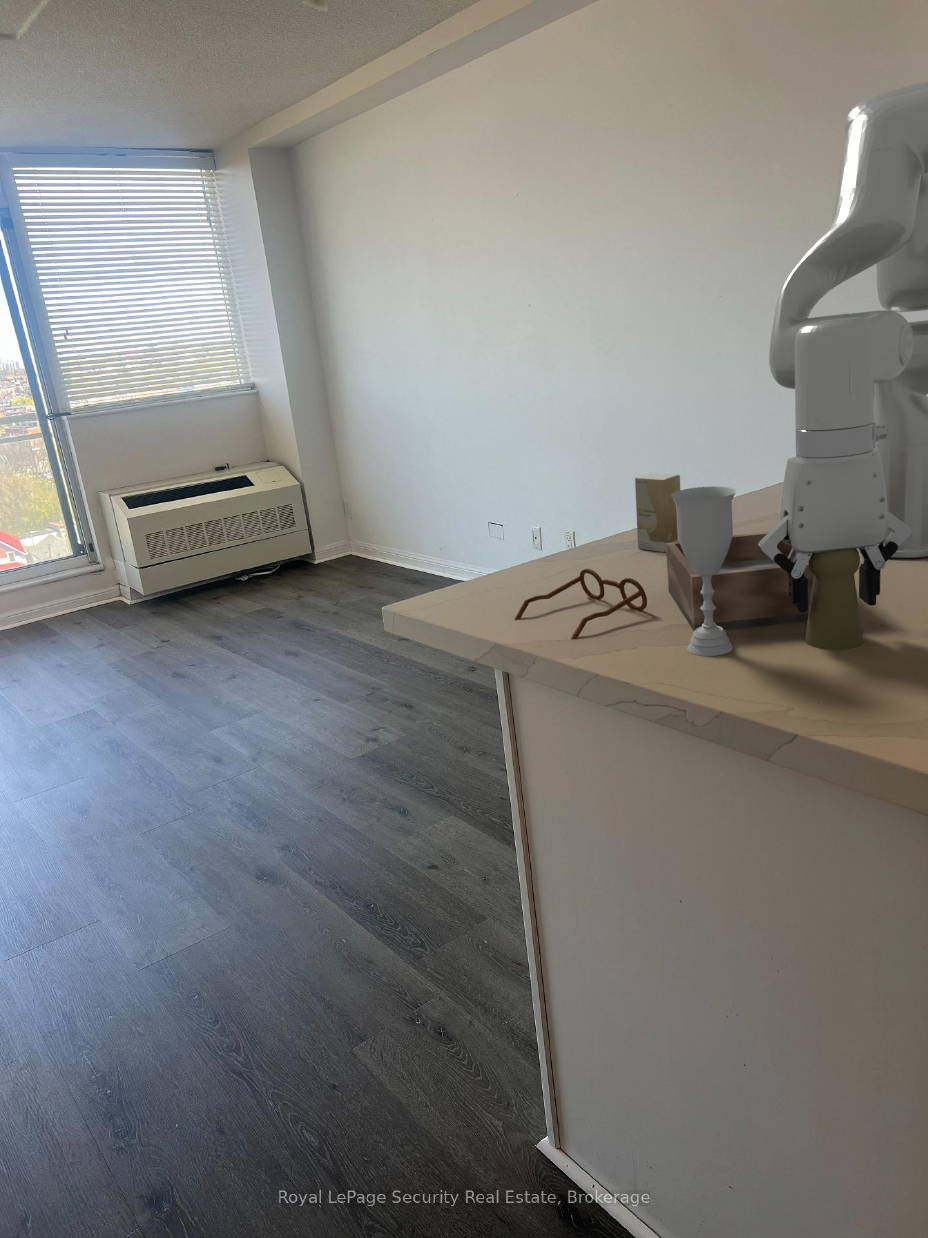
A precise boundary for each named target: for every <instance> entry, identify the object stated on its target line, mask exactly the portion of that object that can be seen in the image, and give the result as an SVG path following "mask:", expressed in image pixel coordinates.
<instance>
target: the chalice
mask: <svg viewBox="0 0 928 1238" xmlns="http://www.w3.org/2000/svg"><path fill="white" fill-rule="evenodd" d="M736 493H737V490H736V489H735V488H732V487H727V486H699V487H690V488H684V489H680V491H677V492H674V493H672V495H671V497H672V498H673V500H674V502H675V504H676V513H677V531H678V540H679V542H680V545H681V547H682V550H683V553H684V555H685V557H686V558H687V560H688V562H689V564H690V566H691V567H692V569H693V571H694V573H695V574H698V575H701V576H702V579H703V587H702V590H701V592H700V593H701V594H702V595H703V598H704V603H703V605H702V606H701V608H700V609H701V610H702V611H703V612H704V616H705V620H704V623H703V624H702V626H701V627H698V628H697V629H696V630H695V631H693V633H692V637H691V638H690V640H689V641H690V643H689V645H688V646H687V652H689V653H691V654H694V655H697V656H703V657H712V656H713V657H714V656H720V655H724V654H727V653H730V652H731V651H733V649H734V646H733V645H732V644H731V642H730V638H729V637H728V635H727V632H726V630H724V629H723V628H722V627H720V626H716V624H715V623H714V621H713V618H712V617H713V611H714V610H715V609H716V607H715V606H714V605H713V602H712V596H713V594H714V593H715V591H714V590H713V588H712V584H711V578H712V575H714V574H716V573H718V572H719V571H720V568H721V566H722V564H723V562H724V559H725V557H726V555H727V553H728V549H729V546H730V542H731V539H732V536H734V531H733V530H734V529H733V499H734V497H735V494H736Z"/></svg>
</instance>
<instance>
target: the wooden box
mask: <svg viewBox="0 0 928 1238" xmlns="http://www.w3.org/2000/svg"><path fill="white" fill-rule="evenodd" d="M769 532H770V531H762V532H752V533H745V534H735V535H734V534H733V536H732V539H731V542H730V546H729V549H728V553H727V555H726V557H725V559H724V562H723V564H722V566H721V568H720V571H719V572H718V573H716V574H714V575H712V578H711V584H712V588H713V590H714V591H715V593H714V594H713V596H712V602H713V605H714V606H715V607H716V609H715V610H714V611H713V617H712V618H713V621H714V623H715V624H716V626H720V627H722V628H723V629H724V630H725V631H726V630H735V629H741V628H742V629H744V628H745V629H746V628H753V627H763V626H764V627H765V626H774V625H782V624H783V625H784V624H792V623H802V622H808V615H809V607H810V600H811V593H812V586H813V578H814V574H813V573H812V572H811V571H810V568H809V561H808V563H807V565H806V568H805V570H804V576H805V577H806V578H807V579H808V611H806V612H804V613H801V612H800V611H798V610H797V609H796V608H795V607H794V605H793V604H791V603H790V601H789V596H788V573H787V572H786V571H785V570H784V569H782V568H781V567H780V566H779V565H777V564H776V563H775V562H774V561H773V560H772V559H771V558H770V557H768V556H767V555H766V554H765V553H764V552H763V551H762V550H761V549H760V548H759V547H758V543H759V542H760V541H761V540H762V539H763V538H764V537H765V536H766V535H767V534H768V533H769ZM777 549H778V550H779V551H780V552H781V553H782V554H783V555H785V556H786V557H787V558H788V556H789V554H790V552H791V550H792V546H791V545H787V544H785V543H783V542H782V540H781V541H780V542H779V543H778V544H777ZM665 553H666V569H667V570H666V571H667V572H666V573H667V589H668V593H669V594H670V596H671V598H672V599H673V600H674V601H673V602H675V603H676V605H677V607H678V609H679V610H680V612H681V613H682V615H683V617H684V618H685V620H686V621H687V623H688V625H689V626H690V627H691V629H692V631H693V632H694V631H695V630H696V629H697V628H698V627H701V626H702V624H703V623H704V620H705V616H704V612H703V611H702V610H701V609H700V608H701V606H702V605H703V603H704V598H703V595H702V594H701V593H700V592H701V590H702V587H703V579H702V576H701V575H698V574H695V573H694V571H693V569H692V567H691V566H690V564H689V562H688V560H687V558H686V557H685V555H684V553H683V550H682V547H681V545H680V542H671V543H666V552H665Z"/></svg>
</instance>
